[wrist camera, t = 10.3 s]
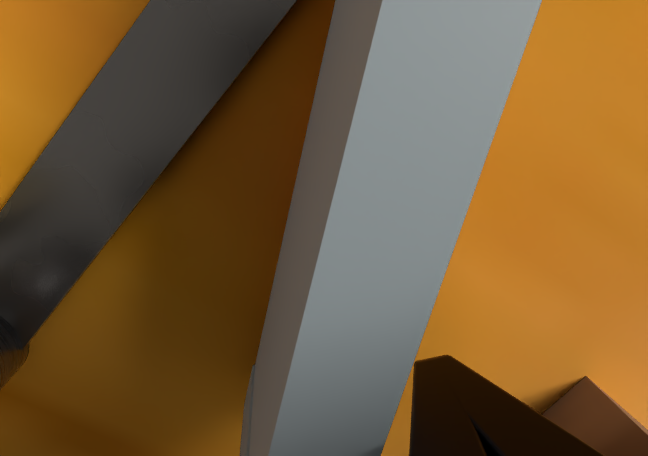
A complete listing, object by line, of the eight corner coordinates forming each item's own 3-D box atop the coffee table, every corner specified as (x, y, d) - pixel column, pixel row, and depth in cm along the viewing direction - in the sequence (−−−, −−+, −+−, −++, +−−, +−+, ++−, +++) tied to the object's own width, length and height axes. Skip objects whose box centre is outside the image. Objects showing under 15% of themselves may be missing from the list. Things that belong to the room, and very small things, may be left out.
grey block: (372, -181, 7) (539, -617, 3) (460, -147, 7) (745, -490, 3) (244, 404, 11) (223, 637, 6) (306, 411, 11) (329, 639, 6)
